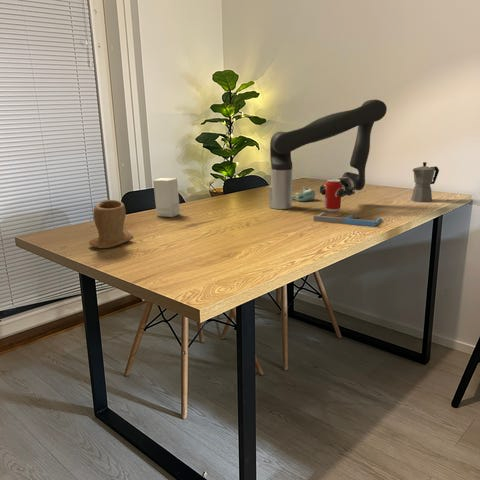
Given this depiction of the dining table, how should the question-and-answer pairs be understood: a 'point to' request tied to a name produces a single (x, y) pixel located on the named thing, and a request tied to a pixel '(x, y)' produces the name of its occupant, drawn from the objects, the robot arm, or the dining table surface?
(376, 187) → the dining table surface
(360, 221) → the e-shaped bracket
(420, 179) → the coffeepot
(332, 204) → the beverage can
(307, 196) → the stuffed animal
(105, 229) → the brown hollow piece
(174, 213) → the skincare box
